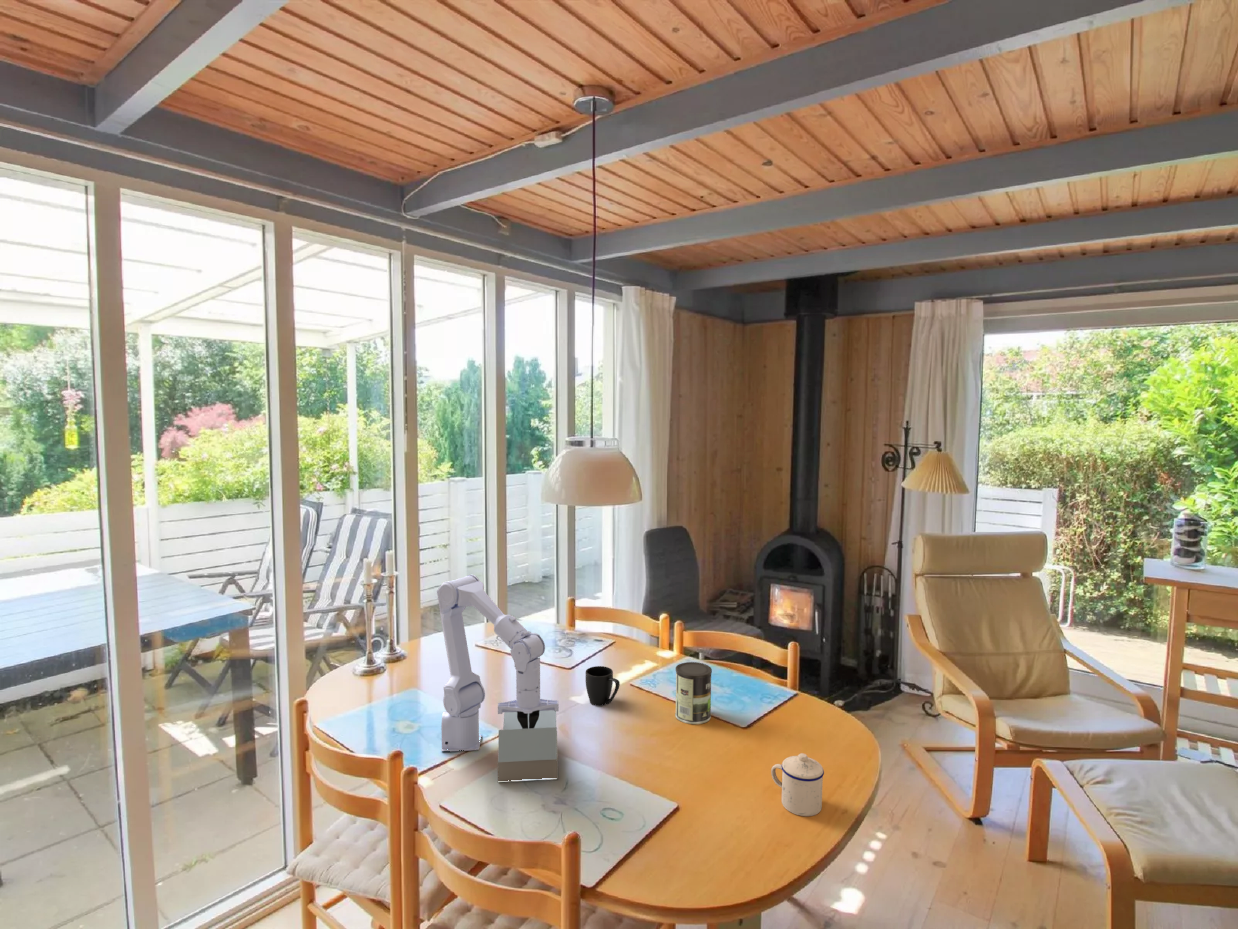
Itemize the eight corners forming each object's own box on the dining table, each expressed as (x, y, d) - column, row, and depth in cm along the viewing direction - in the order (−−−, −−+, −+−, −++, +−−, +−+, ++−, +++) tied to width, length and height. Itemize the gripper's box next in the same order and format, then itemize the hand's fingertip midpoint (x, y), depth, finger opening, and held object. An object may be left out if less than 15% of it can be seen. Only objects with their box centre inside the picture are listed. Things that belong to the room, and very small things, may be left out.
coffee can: (712, 709, 192) (712, 663, 191) (709, 726, 182) (710, 677, 181) (677, 706, 194) (677, 660, 193) (672, 722, 184) (673, 674, 183)
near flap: (498, 761, 153) (498, 762, 152) (498, 729, 154) (498, 730, 154) (556, 758, 154) (556, 759, 154) (556, 727, 156) (556, 727, 155)
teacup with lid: (829, 804, 146) (831, 754, 145) (811, 823, 139) (813, 771, 138) (780, 783, 154) (781, 736, 153) (761, 801, 147) (762, 751, 146)
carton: (497, 782, 154) (497, 762, 153) (502, 751, 167) (502, 733, 167) (557, 779, 155) (557, 759, 155) (557, 749, 169) (557, 730, 168)
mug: (607, 715, 188) (607, 683, 187) (579, 701, 196) (579, 671, 196) (627, 706, 194) (627, 675, 193) (599, 693, 202) (600, 663, 201)
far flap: (504, 707, 174) (504, 708, 174) (503, 730, 168) (503, 731, 168) (556, 705, 175) (556, 706, 175) (556, 727, 169) (556, 728, 169)
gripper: (496, 694, 153) (497, 749, 154) (558, 691, 155) (558, 746, 156) (498, 681, 160) (499, 734, 161) (558, 679, 162) (558, 732, 163)
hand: (528, 739), depth 159 cm, fingers closed
